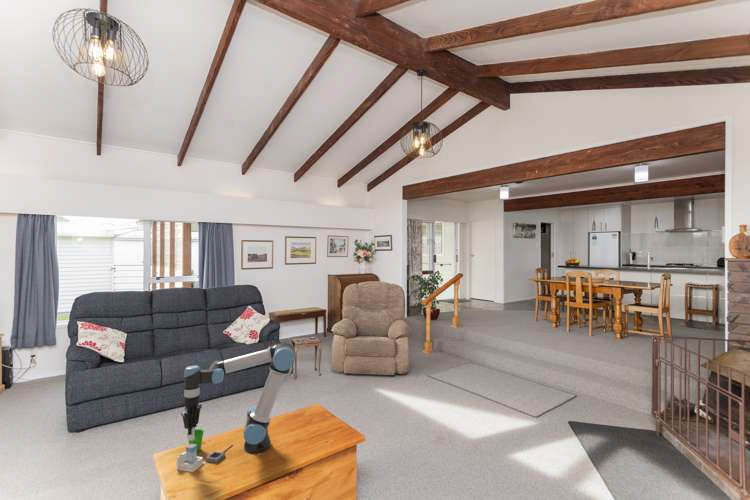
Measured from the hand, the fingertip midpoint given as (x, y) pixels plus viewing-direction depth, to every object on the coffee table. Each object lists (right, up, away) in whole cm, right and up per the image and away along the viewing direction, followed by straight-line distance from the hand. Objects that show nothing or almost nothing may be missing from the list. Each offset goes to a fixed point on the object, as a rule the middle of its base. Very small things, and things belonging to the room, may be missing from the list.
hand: (191, 439), depth 204 cm
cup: (-5, -15, +15) cm, 22 cm away
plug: (0, -14, 0) cm, 14 cm away
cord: (+13, -15, +16) cm, 25 cm away
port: (0, -15, 0) cm, 15 cm away
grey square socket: (+10, -15, +7) cm, 19 cm away
